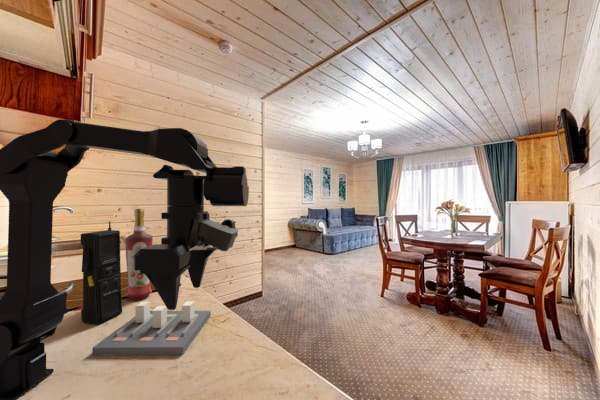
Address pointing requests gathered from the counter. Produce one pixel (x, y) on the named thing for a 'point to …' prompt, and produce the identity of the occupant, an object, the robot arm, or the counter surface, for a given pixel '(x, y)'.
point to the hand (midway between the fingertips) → (185, 297)
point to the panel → (153, 336)
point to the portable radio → (101, 276)
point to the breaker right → (188, 311)
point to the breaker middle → (159, 316)
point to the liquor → (134, 243)
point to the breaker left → (142, 312)
